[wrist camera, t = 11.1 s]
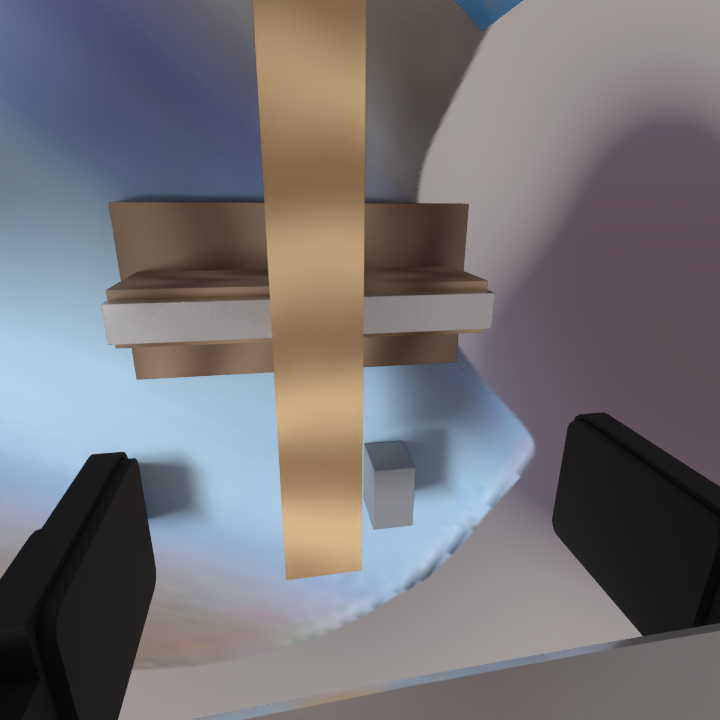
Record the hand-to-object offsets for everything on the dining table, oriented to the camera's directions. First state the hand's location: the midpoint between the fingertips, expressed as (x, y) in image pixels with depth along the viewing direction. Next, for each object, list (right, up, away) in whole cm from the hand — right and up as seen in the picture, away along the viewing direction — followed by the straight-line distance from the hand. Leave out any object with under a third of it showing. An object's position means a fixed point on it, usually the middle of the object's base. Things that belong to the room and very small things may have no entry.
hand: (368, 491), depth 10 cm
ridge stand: (-4, +8, +22) cm, 24 cm away
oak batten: (-3, +5, +14) cm, 16 cm away
